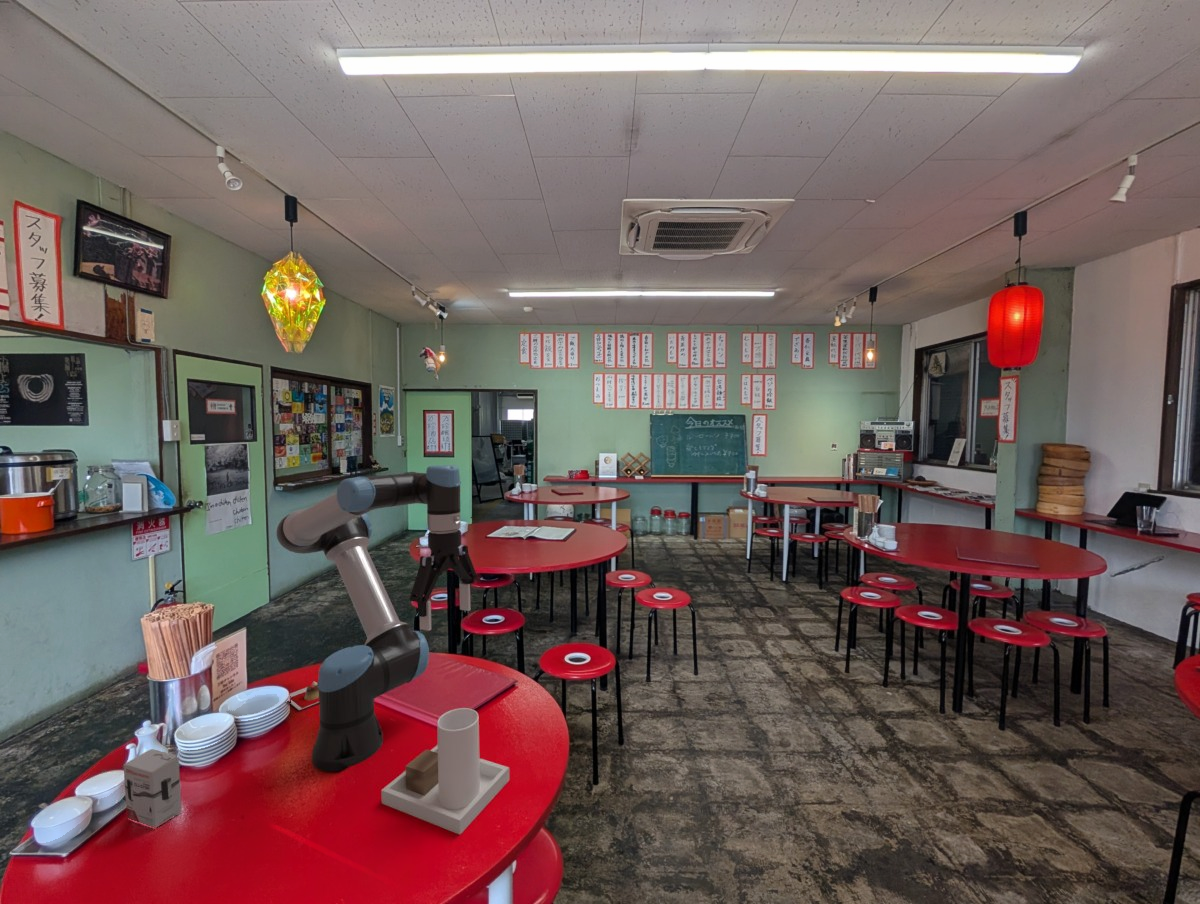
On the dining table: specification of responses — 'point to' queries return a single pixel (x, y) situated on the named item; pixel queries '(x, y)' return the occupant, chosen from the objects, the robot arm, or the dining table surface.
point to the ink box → (152, 787)
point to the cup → (458, 758)
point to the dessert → (307, 694)
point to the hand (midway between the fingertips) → (446, 619)
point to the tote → (430, 807)
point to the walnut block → (422, 773)
